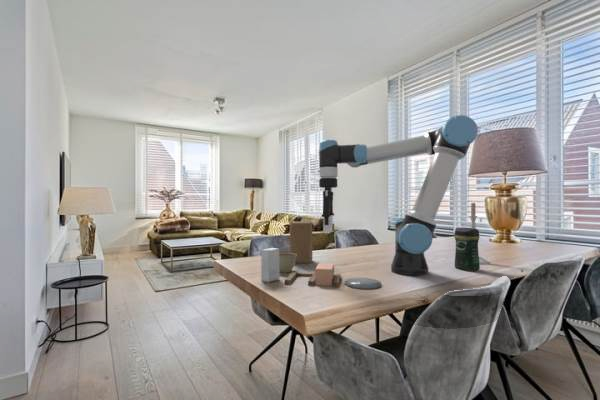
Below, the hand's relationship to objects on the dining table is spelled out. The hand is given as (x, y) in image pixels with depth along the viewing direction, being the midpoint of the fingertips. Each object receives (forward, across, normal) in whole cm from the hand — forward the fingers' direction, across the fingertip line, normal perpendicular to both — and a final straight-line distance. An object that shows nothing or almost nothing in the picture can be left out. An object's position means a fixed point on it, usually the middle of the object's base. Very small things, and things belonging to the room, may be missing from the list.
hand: (328, 231), depth 126 cm
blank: (+18, +11, 0) cm, 21 cm away
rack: (+18, +11, -4) cm, 21 cm away
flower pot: (+18, -3, -19) cm, 26 cm away
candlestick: (+18, -41, +69) cm, 82 cm away
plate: (+18, +12, +14) cm, 26 cm away
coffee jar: (+18, -22, +60) cm, 66 cm away
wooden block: (+18, -24, -16) cm, 34 cm away
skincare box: (+18, +13, -21) cm, 31 cm away
